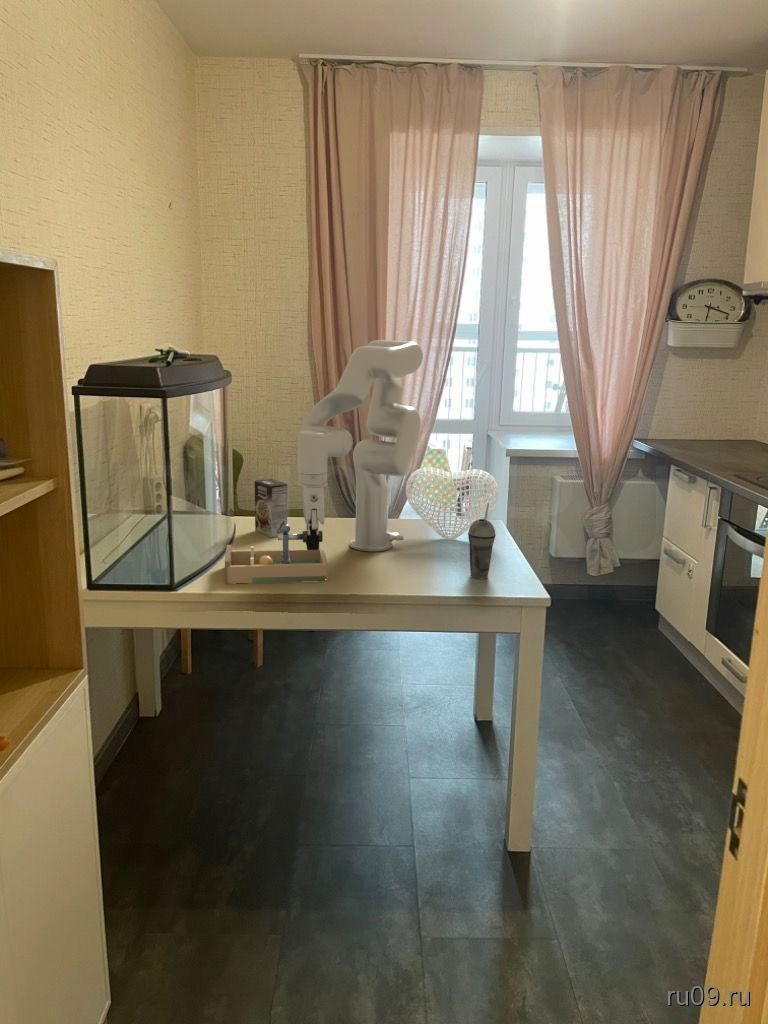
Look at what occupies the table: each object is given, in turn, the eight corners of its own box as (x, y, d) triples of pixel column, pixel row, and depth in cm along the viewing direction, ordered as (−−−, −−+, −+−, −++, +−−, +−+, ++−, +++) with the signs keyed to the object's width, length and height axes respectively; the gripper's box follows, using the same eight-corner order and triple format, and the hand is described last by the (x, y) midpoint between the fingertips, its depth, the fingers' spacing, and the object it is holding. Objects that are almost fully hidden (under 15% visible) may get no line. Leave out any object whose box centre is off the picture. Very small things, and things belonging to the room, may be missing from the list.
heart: (494, 535, 248) (498, 465, 242) (496, 549, 233) (501, 476, 227) (405, 530, 250) (408, 461, 245) (401, 544, 235) (404, 471, 230)
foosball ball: (262, 551, 206) (257, 563, 207) (262, 555, 203) (257, 568, 203) (274, 556, 207) (269, 568, 208) (274, 560, 204) (269, 572, 204)
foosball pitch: (323, 564, 215) (323, 543, 214) (327, 581, 202) (328, 559, 200) (227, 566, 211) (226, 544, 210) (225, 584, 198) (224, 561, 196)
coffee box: (254, 531, 245) (253, 480, 241) (271, 527, 249) (270, 477, 245) (271, 537, 238) (270, 485, 234) (288, 534, 242) (288, 483, 238)
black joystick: (320, 561, 211) (321, 520, 208) (322, 570, 204) (323, 527, 202) (277, 562, 209) (277, 520, 206) (278, 571, 203) (278, 528, 200)
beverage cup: (464, 571, 213) (468, 499, 208) (491, 572, 212) (496, 500, 207) (466, 580, 206) (470, 506, 201) (494, 581, 205) (499, 507, 200)
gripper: (330, 485, 194) (329, 556, 199) (324, 472, 210) (324, 538, 215) (299, 486, 193) (299, 557, 198) (296, 472, 209) (296, 538, 213)
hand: (312, 546), depth 206 cm, fingers closed on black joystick, 3 cm apart
